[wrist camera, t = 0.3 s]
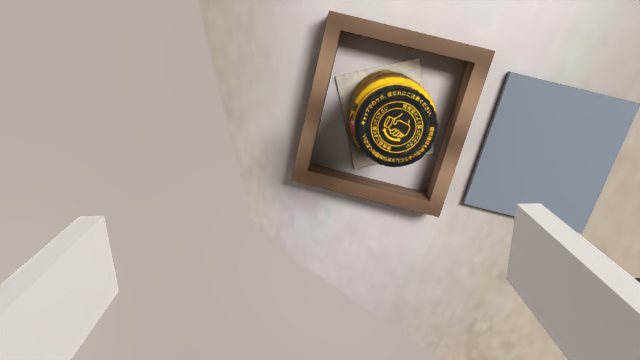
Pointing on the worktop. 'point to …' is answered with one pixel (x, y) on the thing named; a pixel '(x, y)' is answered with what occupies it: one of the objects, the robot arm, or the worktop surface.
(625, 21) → the worktop surface
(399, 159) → the condiment
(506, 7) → the worktop surface
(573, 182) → the mat
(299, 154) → the pocket
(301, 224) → the worktop surface
